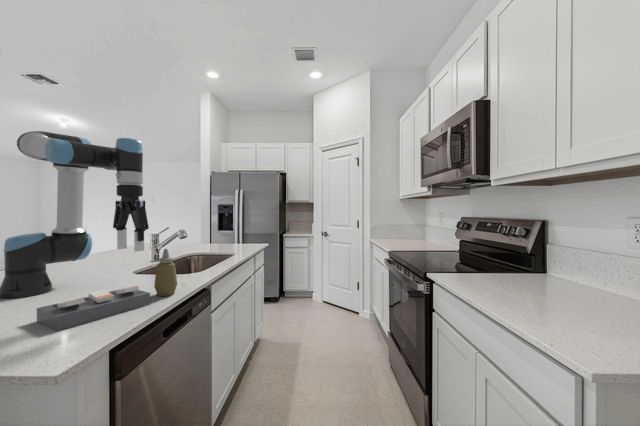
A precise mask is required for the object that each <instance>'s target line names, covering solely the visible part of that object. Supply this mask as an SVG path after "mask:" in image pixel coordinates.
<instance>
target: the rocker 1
mask: <svg viewBox="0 0 640 426" xmlns="http://www.w3.org/2000/svg"><path fill="white" fill-rule="evenodd" d="M80 298H81V299H80ZM80 298H75V299H72V300H68V301H67V300H66V301H62V302H58V303H56V304H57V306H58V308H59V307H68V306H72V305H76V304H80V303H84V302H85V300H84V299H83V298H84V297H80Z"/></svg>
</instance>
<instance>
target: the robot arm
mask: <svg viewBox="0 0 640 426" xmlns="http://www.w3.org/2000/svg"><path fill="white" fill-rule="evenodd" d="M16 146H17V149H18V150H19V151H20V153H22V154H23V155H25V156H26V157H28V158H30V159H35V160H39V161H45V162H49V163H51V164H52V167H53V168H55V169H56V171H57V187H56V189H57V198H56V199H57V200H56V226H55V228H53V229H52V230H51V235H47V234H46V233H45V232H35V233H26V234H19V235H14V236H11V237H8V238H6V239H5V241H4V245H3V246H4V249H3V252H4V278H3V280H2V282H1V284H0V298H1V299H16V298H18V299H19V298H24V297H25V298H26V297H31V296H32V297H33V296H36V295H37V296H38V295H41V294H46V293H48V292H50V291H52V290H53V283H52V281H51V278H50V277H49V275H48V272H47V265H48V264H49V265H50V264H57V263H64V262H65V263H66V262H75V261H81V260H85V259H86V258H87V257H88V256H89V255H90V253H91V251H92V248H93V240H92V239H93V237H92V235H91V234H90V233H87V229H86V228H84V227H83V221H84V220H83V219H84V218H83V214H84V211H83V210H84V184H85V183H84V180H85V173H86V172H87V171H88V170H89V168H98V169H104V170H108V171H116V173H115V177H116V183H117V185H116V196H118V197H120V198H121V199H120V200H115V207H114V208H115V210H114V216H113V223H112V225H113V226H112V228H113V229H115V231H116V233H117V234H116V235H117V236H116V242H117V243H116V244H117V247H116V248H117V250H124V249H127V248H128V246H127V245H128V244H127V243H128V242H127V241H128V239H127V237H128V232H127V230H128V228H127V227H126V226H127V223H128V220H129V216H131V219H132V222H133V225H134V228H135V229H134V230H133V233H134V235H133V236H134V237H133V239H134V241H133V242H134V250H133V251H134V252H143V251H145V232H146V230H149V228H150V226H149V222H148V217H147V210H146V209H147V208H146V200H140V197H143V195H144V193H143V190H144V189H143V186H142V185H143V183H144V178H143V176H144V175H143V165H144V164H143V156H144V153H143V143H142V142H141V140H138V139H135V138H130V137H120V138H119V137H118V138H117V139H116V141H115V147H110V146H103V145H97V144H96V145H95V144H92V142H91V141H90V140H88V139H86V138H83V137H78V136H76V135H75V136H74V135H68V134H61V133H54V132H50V131H41V130H39V131H38V130H32V131H27V132H24V133H22V134H21V135H20V136H18V138H17V140H16Z"/></svg>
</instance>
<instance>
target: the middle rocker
mask: <svg viewBox="0 0 640 426" xmlns="http://www.w3.org/2000/svg"><path fill="white" fill-rule="evenodd" d="M109 292H110V291H107V290H106V289H99V290H95V291H92V292H88V296H89V297H90V298H92V299H93V300H95V301H96V302H97V303H100V302H104V301H108V300H112V299H113V298H114V296H113V295H112V294H110V293H109Z"/></svg>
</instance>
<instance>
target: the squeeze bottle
mask: <svg viewBox="0 0 640 426" xmlns="http://www.w3.org/2000/svg"><path fill="white" fill-rule="evenodd" d="M162 253H163V254H162V256H161V257H160V258H158V262H159V263H158V264H157V265H156V267H155V275H154V277H155V278H154V290H155V292H156V294H157V296H158V297H168V296H171V295H174V294H175V293H176V289H177V286H178V279H177V278H178V276H177V271H176V270H177V269H176V264H175V263H174V262H173V257H172V256H170V254H169V249H168V248H164V249H163V252H162Z"/></svg>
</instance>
